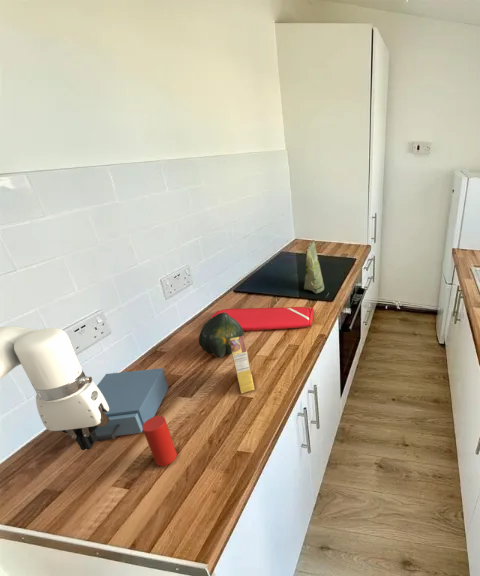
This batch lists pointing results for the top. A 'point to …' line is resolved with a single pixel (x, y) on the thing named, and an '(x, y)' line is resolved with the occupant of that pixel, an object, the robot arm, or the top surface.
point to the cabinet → (134, 392)
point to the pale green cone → (313, 270)
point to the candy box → (241, 364)
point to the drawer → (119, 426)
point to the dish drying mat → (271, 317)
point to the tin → (159, 440)
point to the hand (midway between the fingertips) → (89, 444)
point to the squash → (219, 334)
